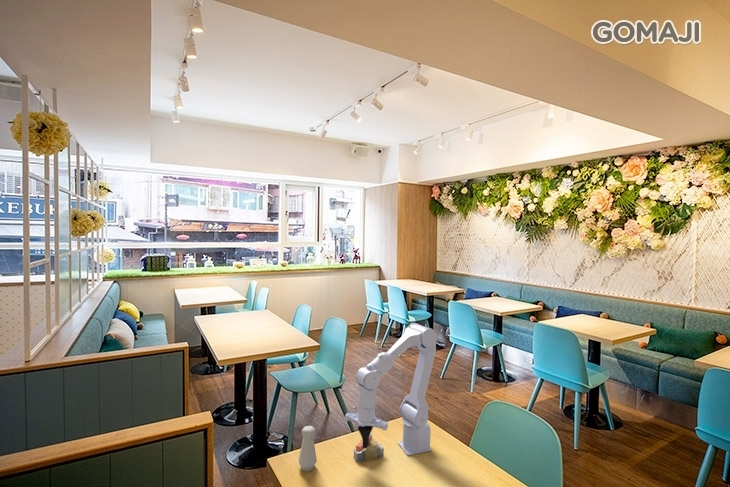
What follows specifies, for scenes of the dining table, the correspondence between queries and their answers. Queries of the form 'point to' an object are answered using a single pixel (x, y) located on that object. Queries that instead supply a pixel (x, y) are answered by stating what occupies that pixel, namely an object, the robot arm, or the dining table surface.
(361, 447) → the lever
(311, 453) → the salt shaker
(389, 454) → the dining table surface
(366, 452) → the valve base
